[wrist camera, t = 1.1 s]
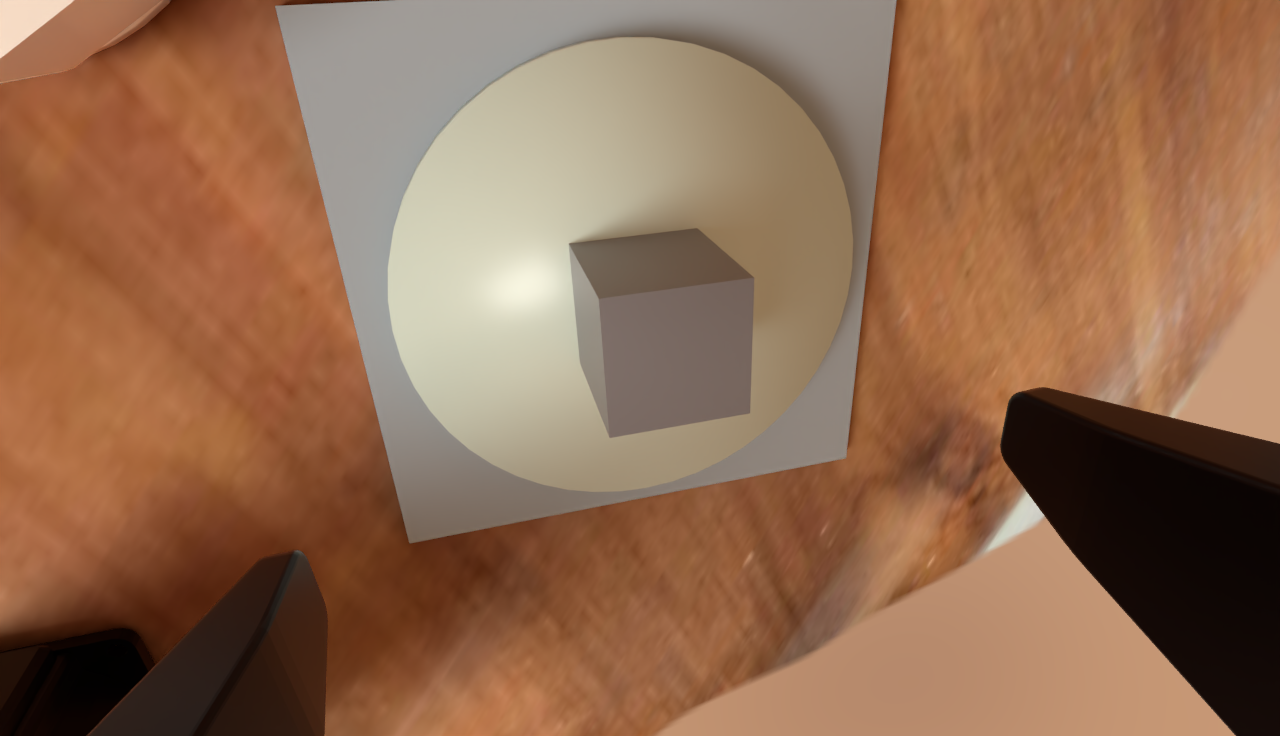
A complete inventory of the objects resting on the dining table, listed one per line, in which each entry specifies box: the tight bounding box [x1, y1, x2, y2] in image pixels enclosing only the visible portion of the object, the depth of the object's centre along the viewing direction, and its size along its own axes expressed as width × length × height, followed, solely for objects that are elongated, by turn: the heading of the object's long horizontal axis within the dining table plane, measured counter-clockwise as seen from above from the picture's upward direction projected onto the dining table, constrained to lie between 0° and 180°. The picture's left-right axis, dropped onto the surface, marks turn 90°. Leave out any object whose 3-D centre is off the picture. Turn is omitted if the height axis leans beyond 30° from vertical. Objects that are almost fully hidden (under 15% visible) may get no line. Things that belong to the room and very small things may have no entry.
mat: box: [275, 0, 896, 544], centre depth 21 cm, size 15×15×1 cm
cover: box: [388, 36, 853, 492], centre depth 18 cm, size 13×13×5 cm
